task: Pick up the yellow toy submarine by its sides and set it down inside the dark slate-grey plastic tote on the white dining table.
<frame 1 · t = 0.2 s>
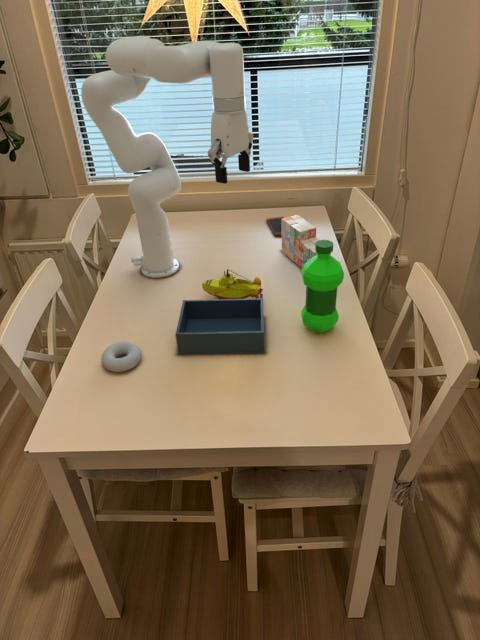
hand: (233, 176, 121), 37 cm above the table, tool pointing down, fingers open, 9 cm apart
donut: (122, 361, 121), on the table
stack of blocks: (304, 262, 158), on the table
plastic bottle: (318, 327, 129), on the table
yellow toy submarine: (232, 298, 142), on the table
tote: (222, 335, 128), on the table
smartphone: (279, 227, 180), on the table
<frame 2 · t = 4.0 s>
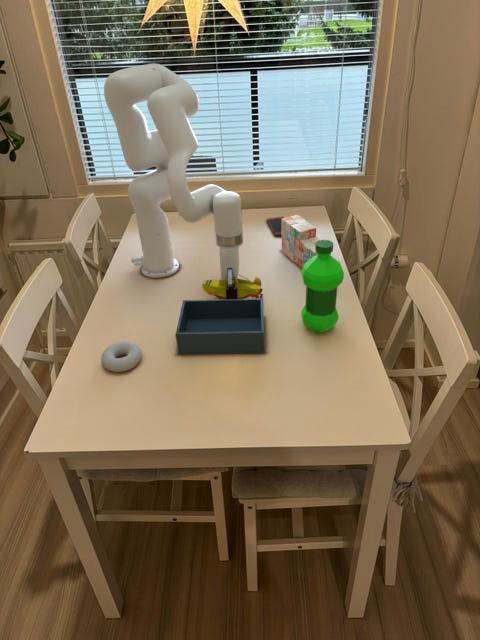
hand: (232, 292, 141), 2 cm above the table, tool pointing down, fingers closed on yellow toy submarine, 6 cm apart
yellow toy submarine: (233, 298, 142), on the table, touching gripper
everything else where it was.
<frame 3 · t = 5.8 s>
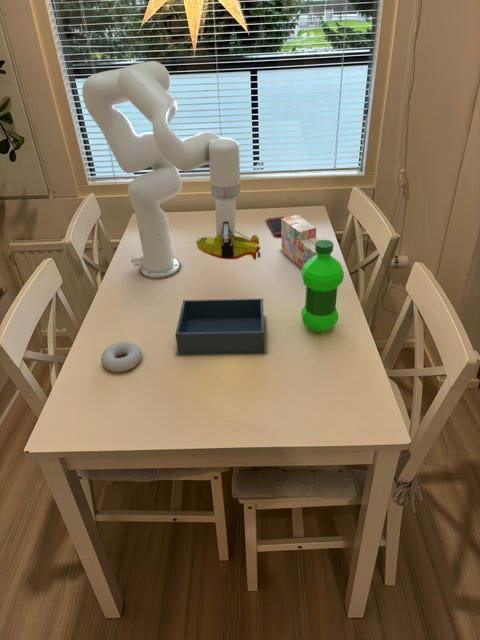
hand: (228, 250, 133), 16 cm above the table, tool pointing down, fingers closed on yellow toy submarine, 6 cm apart
yellow toy submarine: (228, 258, 135), point 13 cm above the table, touching gripper
everything else where it was.
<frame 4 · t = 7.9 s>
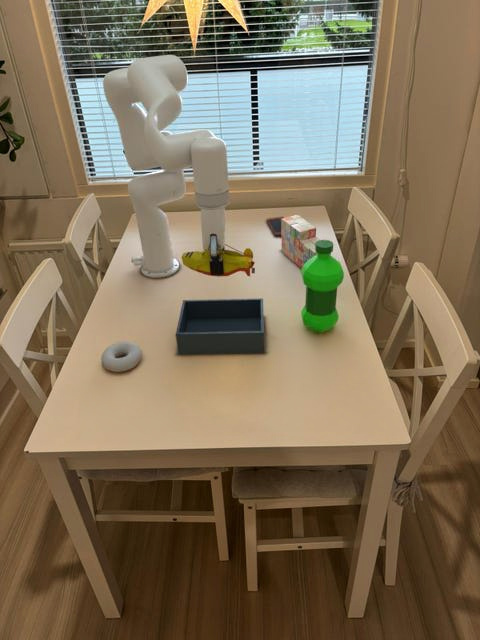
hand: (218, 266, 117), 21 cm above the table, tool pointing down, fingers closed on yellow toy submarine, 6 cm apart
yellow toy submarine: (219, 274, 118), point 18 cm above the table, touching gripper
everything else where it was.
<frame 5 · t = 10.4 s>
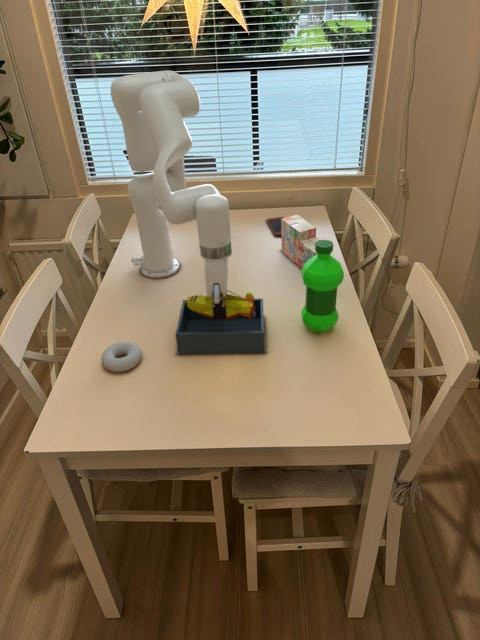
hand: (220, 310, 123), 8 cm above the table, tool pointing down, fingers closed on yellow toy submarine, 6 cm apart
yellow toy submarine: (221, 317, 124), point 6 cm above the table, touching gripper
everything else where it was.
when the fingers open (3 cm above the table, at t = 12.3 s): yellow toy submarine stays where it is, resting on tote.
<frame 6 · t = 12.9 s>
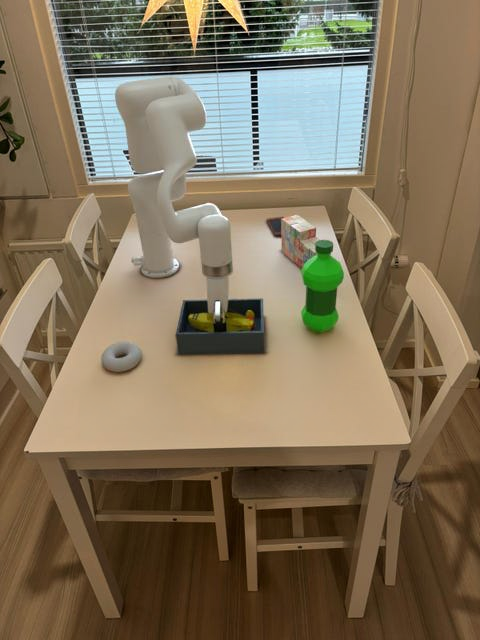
hand: (221, 322, 126), 4 cm above the table, tool pointing down, fingers open, 9 cm apart
yellow toy submarine: (222, 334, 128), resting on tote
everything else where it was.
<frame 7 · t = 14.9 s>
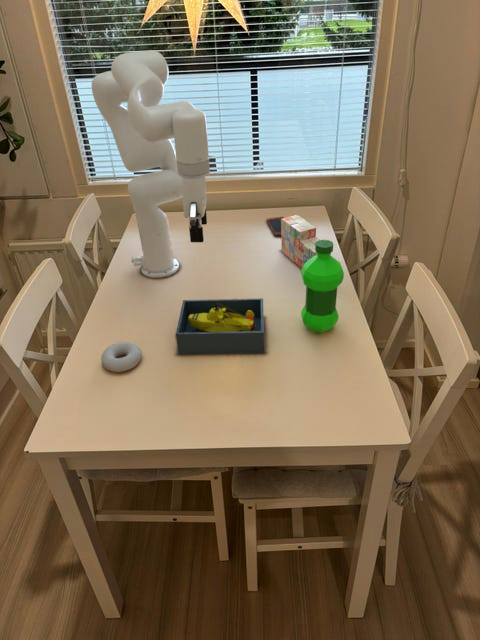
hand: (199, 232, 122), 25 cm above the table, tool pointing down, fingers open, 9 cm apart
nothing on the table moved.
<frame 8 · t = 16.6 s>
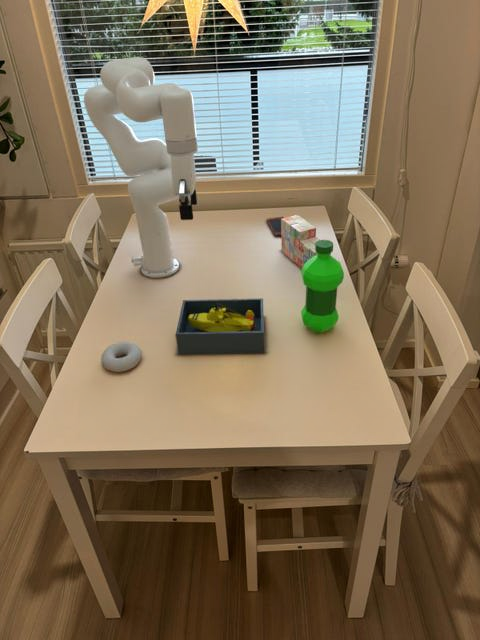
hand: (189, 211, 125), 28 cm above the table, tool pointing down, fingers open, 9 cm apart
nothing on the table moved.
at the end: yellow toy submarine inside the target area in the tote (0.1 cm from its centre), point 0.4 cm above the tote's base; the gripper is holding nothing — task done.
